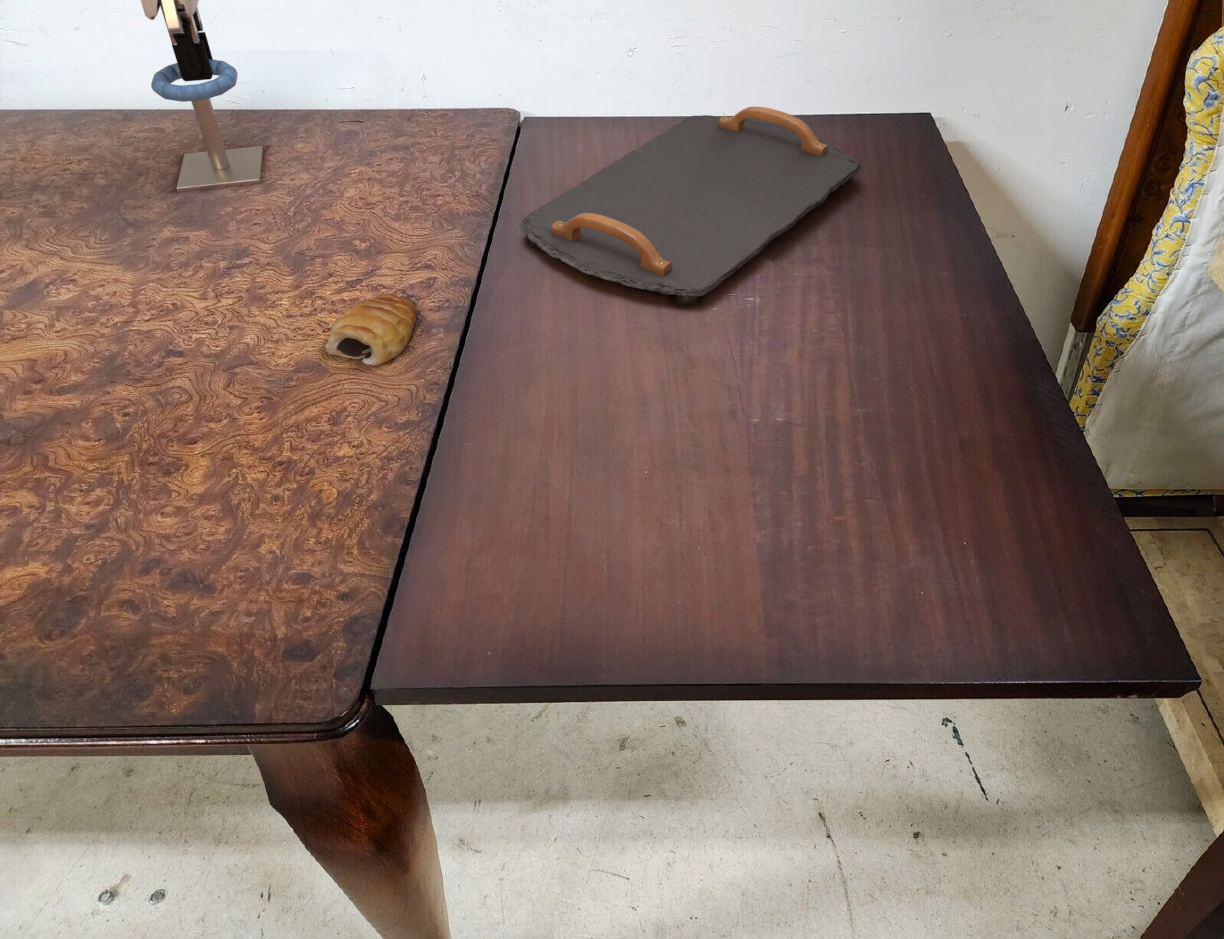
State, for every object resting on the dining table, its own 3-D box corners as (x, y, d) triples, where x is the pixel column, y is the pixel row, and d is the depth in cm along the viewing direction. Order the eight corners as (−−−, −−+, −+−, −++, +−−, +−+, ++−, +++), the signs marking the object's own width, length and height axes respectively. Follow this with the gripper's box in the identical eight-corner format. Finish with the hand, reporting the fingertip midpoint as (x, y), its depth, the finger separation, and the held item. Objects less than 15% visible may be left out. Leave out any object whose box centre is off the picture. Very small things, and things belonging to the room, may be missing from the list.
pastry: (371, 306, 93) (364, 271, 91) (435, 317, 92) (430, 282, 89) (322, 363, 87) (313, 327, 84) (392, 376, 85) (385, 340, 83)
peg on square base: (179, 197, 110) (149, 108, 103) (187, 162, 116) (159, 76, 109) (261, 189, 111) (237, 100, 104) (265, 154, 118) (242, 69, 111)
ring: (149, 106, 103) (144, 91, 102) (160, 74, 109) (155, 60, 108) (235, 99, 104) (231, 84, 103) (241, 68, 111) (237, 53, 110)
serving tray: (705, 127, 122) (708, 77, 118) (875, 177, 112) (884, 124, 107) (497, 258, 100) (491, 202, 95) (685, 335, 89) (688, 277, 85)
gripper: (116, -128, 102) (172, 52, 115) (90, -90, 91) (155, 106, 103) (191, -133, 103) (238, 46, 116) (175, -95, 92) (229, 99, 104)
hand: (199, 73), depth 109 cm, fingers closed on ring, 2 cm apart
